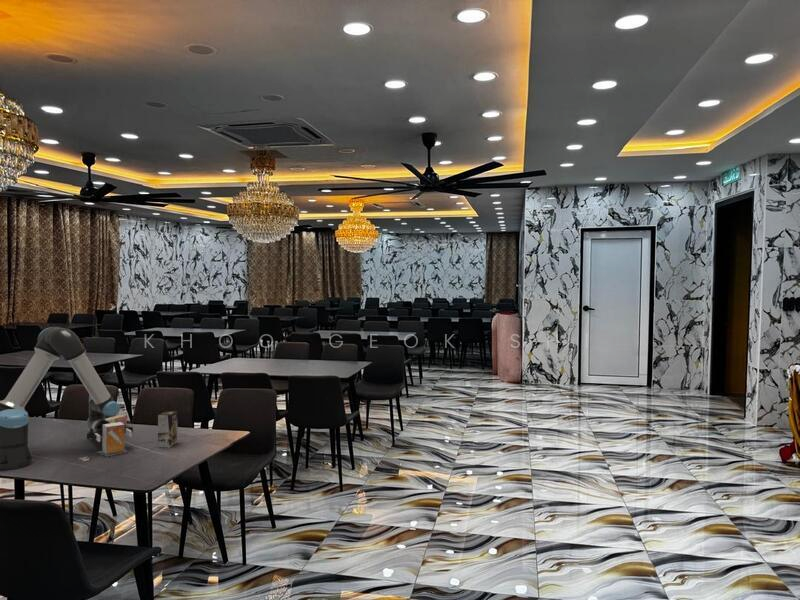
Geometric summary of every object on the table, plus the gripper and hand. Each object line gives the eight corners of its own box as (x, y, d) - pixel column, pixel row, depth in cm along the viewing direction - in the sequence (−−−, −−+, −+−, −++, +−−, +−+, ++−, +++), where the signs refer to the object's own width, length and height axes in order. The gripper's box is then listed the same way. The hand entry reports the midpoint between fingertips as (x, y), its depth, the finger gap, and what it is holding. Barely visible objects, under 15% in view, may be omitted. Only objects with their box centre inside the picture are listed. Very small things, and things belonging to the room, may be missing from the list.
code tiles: (84, 461, 253) (84, 460, 253) (78, 458, 257) (78, 458, 257) (92, 459, 256) (92, 459, 256) (86, 456, 260) (86, 456, 260)
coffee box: (170, 447, 276) (170, 415, 276) (157, 447, 276) (157, 414, 276) (177, 442, 285) (178, 411, 285) (165, 442, 285) (165, 410, 285)
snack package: (118, 425, 320) (118, 413, 320) (128, 425, 318) (128, 414, 318) (88, 434, 299) (88, 421, 299) (99, 435, 298) (99, 422, 297)
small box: (106, 454, 261) (106, 426, 261) (102, 451, 266) (102, 424, 266) (124, 451, 267) (124, 424, 266) (120, 448, 271) (120, 421, 271)
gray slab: (107, 457, 259) (107, 456, 259) (97, 453, 265) (97, 451, 265) (128, 452, 267) (128, 451, 267) (118, 448, 273) (118, 447, 273)
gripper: (129, 431, 288) (143, 439, 272) (74, 439, 271) (85, 449, 255) (129, 416, 288) (143, 424, 272) (74, 423, 271) (85, 432, 255)
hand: (115, 436), depth 264 cm, fingers open, 13 cm apart
